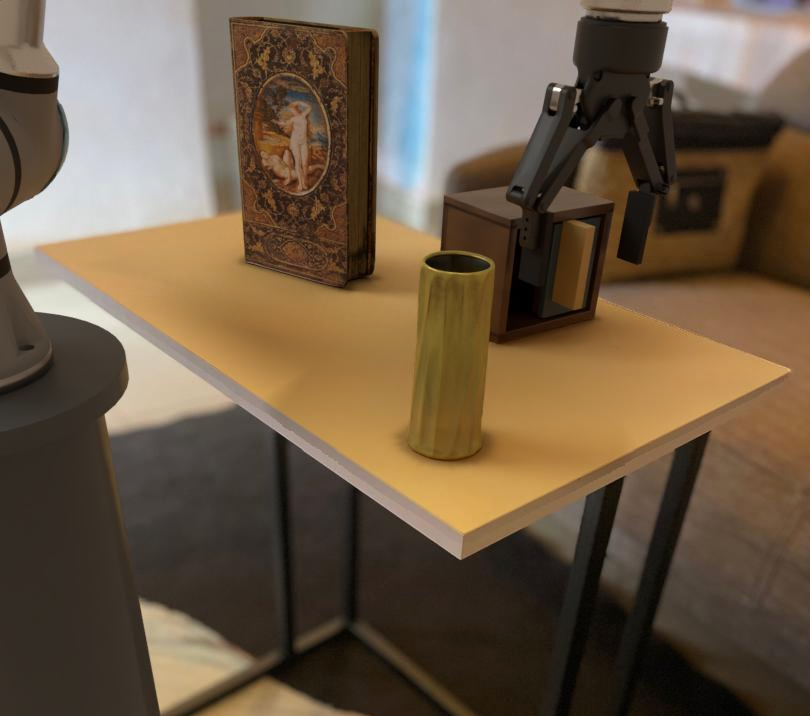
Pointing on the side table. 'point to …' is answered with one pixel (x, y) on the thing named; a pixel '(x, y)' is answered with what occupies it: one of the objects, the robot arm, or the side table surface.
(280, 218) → the book
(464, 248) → the small wooden bookshelf
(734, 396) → the side table surface
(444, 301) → the vase
